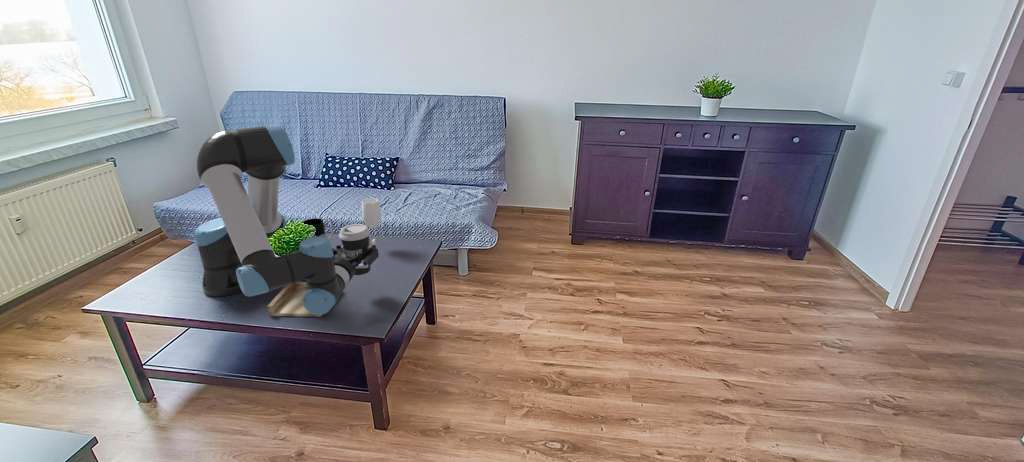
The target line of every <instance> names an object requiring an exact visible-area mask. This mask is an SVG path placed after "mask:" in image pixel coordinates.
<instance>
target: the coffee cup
mask: <svg viewBox="0 0 1024 462" xmlns="http://www.w3.org/2000/svg"><path fill="white" fill-rule="evenodd" d="M370 235H371V231H370V229H369V227H367V226H366V224H361V223H352V224H348V225H345V226H343V227H341V229H340V232H339V234H338V239H340V240H341V245H342V244H343V248H344V252H345V254H344V256H345V258H351V257H353V256H357V255H359V254H361V253H363V252H364V251H366V250H368V248H367V247H368V246H369V244H370ZM370 271H371V265H370V266H369V267H368V270H364V268H359V269H358V270H357V271H355V273H354V276H363V275H366V274H368V273H369V272H370Z"/></svg>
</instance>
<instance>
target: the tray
mask: <svg viewBox="0 0 1024 462" xmlns="http://www.w3.org/2000/svg"><path fill="white" fill-rule="evenodd" d="M307 290H308V289H307V284H306V281H300V282H297V283H293V284H289V285H286V286H284V288H282V289H281V291H280V292H279V293H278V294H277V295H276V296H275V297H273V299H272V300H271V302H270V303H269V304H268V305H266V307H267V311H268V316H270V317H271V316H272V317H315V318H316V317H319V318H320V317H322V316H323V314H322V315H316V314H312V313H310V312H309V311H307V310H306V309H305V307H304V305H303V297H304V295H305V293H306V291H307Z"/></svg>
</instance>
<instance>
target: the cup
mask: <svg viewBox="0 0 1024 462" xmlns="http://www.w3.org/2000/svg"><path fill="white" fill-rule="evenodd" d="M361 215H362V219H363V222H364V225H365V226H366V227H367V228H368V229H369V228H370V229H371V230H374V229H376V228H378V226H380V224H381V221H382V210H381V205H380V201H379V199H378V198H373V197H371V198H365V199H363V200H362V201H361Z"/></svg>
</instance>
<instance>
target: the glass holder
mask: <svg viewBox="0 0 1024 462" xmlns="http://www.w3.org/2000/svg"><path fill="white" fill-rule="evenodd" d="M328 220H330V223H331V228H330V229H331V230H330V234H329V237H328V238H327V235H326V230H327V228H326V222H327V221H328ZM302 223H304V224H308V225H313V226H314V227H315V228H316V232H315V234H314V235H313V237H324V238H327V239H328V240H329V241H330V240H331V238H332V236H333V232H334V222H333V219H332V218H330V217H326V218H325V219H324V220H323V219H321V218H309V219H306V220H304V221H302V222H301V224H302Z"/></svg>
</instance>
